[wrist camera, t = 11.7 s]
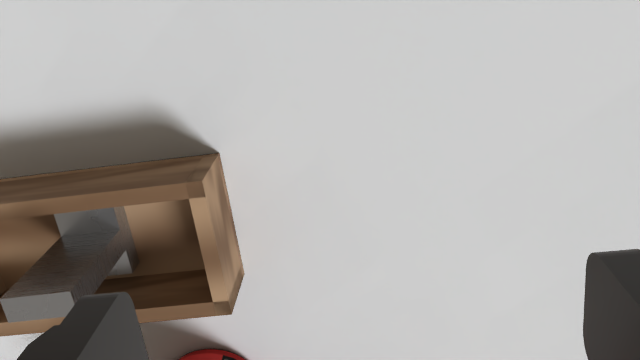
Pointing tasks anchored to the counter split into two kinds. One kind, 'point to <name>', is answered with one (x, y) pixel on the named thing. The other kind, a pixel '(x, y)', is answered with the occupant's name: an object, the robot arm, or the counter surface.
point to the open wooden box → (133, 234)
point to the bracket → (73, 264)
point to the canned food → (211, 355)
